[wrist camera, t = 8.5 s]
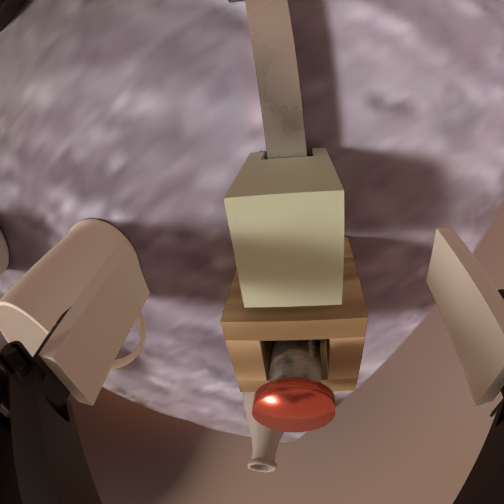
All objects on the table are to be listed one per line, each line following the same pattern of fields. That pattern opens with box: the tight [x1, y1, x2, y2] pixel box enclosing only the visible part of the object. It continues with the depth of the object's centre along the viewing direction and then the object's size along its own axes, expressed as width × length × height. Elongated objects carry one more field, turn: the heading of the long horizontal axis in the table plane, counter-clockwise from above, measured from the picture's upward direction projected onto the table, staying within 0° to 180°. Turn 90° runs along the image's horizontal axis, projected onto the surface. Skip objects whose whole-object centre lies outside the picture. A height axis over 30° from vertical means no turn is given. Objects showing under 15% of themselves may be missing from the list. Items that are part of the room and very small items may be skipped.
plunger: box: [252, 339, 335, 432], centre depth 17 cm, size 4×4×7 cm
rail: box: [228, 0, 307, 159], centre depth 17 cm, size 19×5×4 cm, turn 8°
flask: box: [243, 392, 284, 472], centre depth 31 cm, size 7×7×10 cm
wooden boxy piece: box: [220, 236, 368, 392], centre depth 22 cm, size 7×8×9 cm
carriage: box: [224, 148, 344, 308], centre depth 18 cm, size 6×5×8 cm
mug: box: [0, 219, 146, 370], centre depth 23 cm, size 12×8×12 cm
